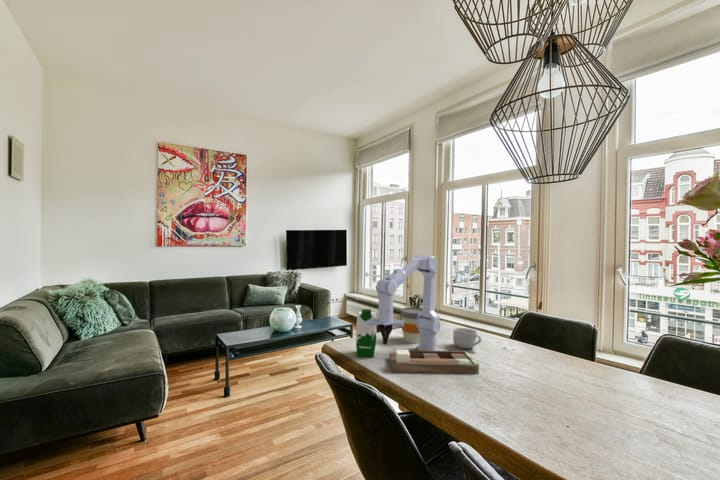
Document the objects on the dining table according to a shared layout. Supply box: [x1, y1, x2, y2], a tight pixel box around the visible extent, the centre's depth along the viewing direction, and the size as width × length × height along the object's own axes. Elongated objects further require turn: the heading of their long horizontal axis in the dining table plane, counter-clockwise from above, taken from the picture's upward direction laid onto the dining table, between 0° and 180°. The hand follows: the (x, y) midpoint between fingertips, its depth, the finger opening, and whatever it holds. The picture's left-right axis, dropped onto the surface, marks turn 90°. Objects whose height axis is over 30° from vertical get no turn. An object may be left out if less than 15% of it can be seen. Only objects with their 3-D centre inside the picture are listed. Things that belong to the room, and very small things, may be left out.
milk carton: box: [355, 308, 378, 358], centre depth 145 cm, size 9×9×20 cm
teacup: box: [452, 327, 482, 350], centre depth 156 cm, size 14×11×8 cm
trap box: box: [389, 349, 480, 374], centre depth 135 cm, size 15×34×3 cm, turn 91°
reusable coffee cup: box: [400, 307, 422, 344], centre depth 166 cm, size 13×12×15 cm
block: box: [395, 349, 410, 363], centre depth 131 cm, size 5×5×4 cm
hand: (385, 343), depth 131 cm, fingers closed
